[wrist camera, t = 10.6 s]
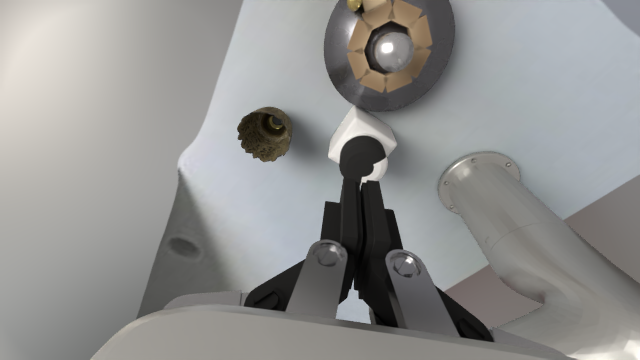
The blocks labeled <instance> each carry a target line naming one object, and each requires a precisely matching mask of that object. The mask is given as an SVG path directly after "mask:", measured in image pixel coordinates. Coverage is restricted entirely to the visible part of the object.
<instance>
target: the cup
mask: <svg viewBox="0 0 640 360" xmlns="http://www.w3.org/2000/svg"><path fill="white" fill-rule="evenodd" d="M274 116H275V117H276V118H278V119H280V120H281V121H282V123H281V125H275V124H274V123H273V121H272V119H273V117H274ZM237 130H238V132H239V136H238V140H241V139H242V142H241V147H242V148H243V149H245V152H246V153H253V155H252V156H253V158H257V157H258V158H259V159H260V160H261V161H263V162H267V161H272V162H273V161H275V160H276V159H277V157H280V156H282V155H283V156H284V155H285V153H286V152H287V151H288V149H289V145H290V141H291V136H292V124H291V121H290V119H289V117H288V116H287V115H286V114H285V113H284V112H283V111H282V110H280V109H278V108H275V107H264V108H260V109H258V110H256V111H254V112H252V113H249V114H248V115H247V116H245V117H243V118H242V120H241V122H240V124H239V125H238V128H237Z"/></svg>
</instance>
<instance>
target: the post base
mask: <svg viewBox="0 0 640 360" xmlns="http://www.w3.org/2000/svg"><path fill="white" fill-rule="evenodd" d="M393 1H394V0H391V4H392V3H393ZM402 1H404V2H406V3H408V4H411V5H413V6H415V7H417V8H419V9H422V12H421V14H420V16H422V15H426V16H427V21H428V26H429V30H430V35H431V40H432V45H430V46H428V47H426V49H428V50H430V51H431V53H430V54H429V56H428V58H427V60H426V62H425V64H424V66H423V67H422V69H421V71H420V73H419V75H418V77H417V78H416V77H414V76H411V79H412V82H411V83H409V84H407V85H404V86H402V87H400V88H397V89H395V90H393V91H390V92H388V93H387V91H386V89H385V88H384V90H383V92H382V93H381V92H379V91H376V90H374V89H372V88H369V87H367V86H364V85H362V84H360V82H359V81H360V79H361V78H359V79H357V80H356V78H355V75H354V73H353V70H352V67H351V64H350V62H349V59H348V56H347V53H349V52H351V51H352V50H349V49H347V46H348V44H349V41H350V38H351V36H352V33H353V30H354V27H355V25H356V22H357V19H359V20H362V21H364V20H363V17H362V13H364V8H363V5H362V0H339V1H338V3H337V4H336V6H335V8H334V10H333V12H332V14H331V17H330V19H329V22H328V25H327V29H326V33H325V40H324V58H325V64H326V69H327V72H328V74H329V77H330V79H331V81H332V83H333V85H334V86H335V88H336V89H337V91H338V92H339V93H340V94H341V95H342V96H343V97H344V98H345V99H346V100H347V101H349V102H350V103H352V104H353V105H355V106H357V107H360V108H362V109H366V110H370V111H381V112H382V111H391V110H396V109H399V108H402V107H404V106H407V105H409V104H411V103H412V102H414V101H416V100H417V99H419V98H420V97H421V96H423V95H424V94H425V93H426V92H427V91H428V90H429V89H430V88H431V87H432V86H433V85H434V84H435V82H436V81H437V80H438V78H439V77H440V75H441V74H442V72H443V70H444V69H445V67H446V65H447V62H448V60H449V57H450V54H451V51H452V47H453V41H454V27H455V26H454V16H453V12H452V8H451V5H450V2H449V0H402ZM420 16H419V17H420ZM364 53H365V56H366V59H367V62H368V65H369V68H371V69H373V70H376V71H378V72H381V73H383V74H386V73H389V72H397V71H400V70H402V69H404V68H405V67H406V66H407V65H408V64H409V63H410V61H411V60H412V57H413V53H414V46H413V42H412V40H411V39H410V37H409V36H408V33H407V29H406V28H405V27H402V26H400V25H398V24H396V23H393V22H391V21H389V22H387V23H385V24H383V25H381V26H379V27H377V28H375V29H373V30H372V31H371V34H370V36H369V39H368V41H367V44H366V46H365V49H364Z"/></svg>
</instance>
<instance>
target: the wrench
mask: <svg viewBox="0 0 640 360" xmlns="http://www.w3.org/2000/svg"><path fill="white" fill-rule="evenodd" d="M362 5H363V8H364V13H362V17H363V20H364V21H362V20H359V19H357V22H356V25H355V27H354V30H353V33H352V36H351V38H350V41H349V44H348V46H347V49H349V50H352V51H351V52H349V53H347V56H348V59H349V62H350V64H351V67H352V70H353V73H354V75H355V78H356V80H357V79H359V78H361V79H360V81H359V82H360V84H362V85H364V86H367V87H369V88H372V89H374V90H376V91H379V92H381V93H382V92H383V90H384V88H385V89H386V91H387V93H388V92H390V91H393V90H395V89H397V88H400V87H402V86H404V85H407V84H409V83H411V82H412V79H411V76H414V77H416V78H417V77H418V75H419V73H420V71H421V69H422V67H423V66H424V64H425V62H426V60H427V58H428V56H429V54H430V53H431V51H430V50H428V49H426V47H428V46H430V45H432V40H431V35H430V30H429V26H428V21H427V16H426V15H422V16H420V14H421V12H422V9H419V8H417V7H415V6H413V5H411V4H408V3H406V2H404V1H402V0H394V1H393V3H392V4H391V0H362ZM419 16H420V17H419ZM389 21H391V22H393V23H396V24H398V25H400V26H402V27H405V28H406V29H407V33H408V36H409V37H410V39H411V40H412V42H413V46H414V53H413V57H412V60H411V61H410V63H409V64H408V65H407V66H406V67H405V68H404V69H402V70H400V71H397V72H389V73H386V74H383V73H381V72H378V71H376V70H373V69H371V68H369V65H368V62H367V59H366V56H365V53H364V49H365V46H366V44H367V41H368V39H369V36H370V34H371V31H372V30H373V29H375V28H377V27H379V26H381V25H383V24H385V23H387V22H389Z"/></svg>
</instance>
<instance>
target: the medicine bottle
mask: <svg viewBox="0 0 640 360" xmlns="http://www.w3.org/2000/svg"><path fill="white" fill-rule="evenodd" d="M396 146H397V142H396V140H395V137H394V135H393V133H392V130H391V128H390V127H389V126H388V125H386V124H385V123H383V122H382V121H380V120H379V119H377V118H376V117H374V116H373V115H371V114H370V113H368V112H367V111H365V110H364V109H362V108H360V107H357V106H355V105H353V107H352V108H351V110H350V111H349V113H348V114H347V115H346V117H345V118H344V120H343V121H342V123H341V124H340V126H339V127H338V129H337V130H336V132H335V133H334V135H333V136H332V137H331V141H330V147H329V153H328V157H329V158H330V159H332V160H333V161H335V162H337V163H338V164H339V167H340V171H341V174H342V175H343V177H348V178H355V181H357V182H359V185H362V182H365V183H366V181H367V180H373V181H378V180H380V179H381V178H382V177H383V175H384V174H385V172H386V170H387V167H388V160H387V157H388V156H389V154H390V153H391V152H392V151H393V150H394V149H395V147H396Z"/></svg>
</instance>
